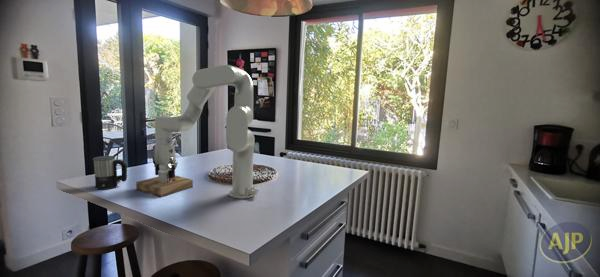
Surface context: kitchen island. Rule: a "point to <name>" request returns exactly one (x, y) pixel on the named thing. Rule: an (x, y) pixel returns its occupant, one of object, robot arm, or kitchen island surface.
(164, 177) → the pill bottle
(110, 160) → the milk frother
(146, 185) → the socket block
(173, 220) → the kitchen island surface
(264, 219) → the kitchen island surface
